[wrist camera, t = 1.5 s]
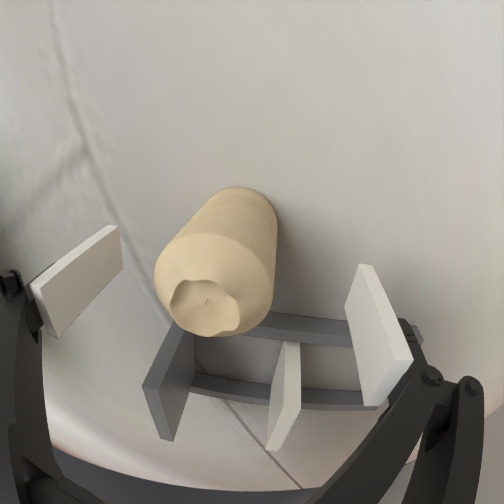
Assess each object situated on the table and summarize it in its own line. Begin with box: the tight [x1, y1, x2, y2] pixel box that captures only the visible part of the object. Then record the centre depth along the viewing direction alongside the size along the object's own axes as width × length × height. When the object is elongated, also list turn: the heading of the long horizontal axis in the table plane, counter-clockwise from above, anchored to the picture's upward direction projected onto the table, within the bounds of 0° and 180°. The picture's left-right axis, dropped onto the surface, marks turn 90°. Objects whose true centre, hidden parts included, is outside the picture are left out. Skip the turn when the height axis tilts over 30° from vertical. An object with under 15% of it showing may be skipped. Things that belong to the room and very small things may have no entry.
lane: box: [142, 312, 423, 442], centre depth 21 cm, size 22×11×9 cm, turn 84°
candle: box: [154, 187, 278, 337], centre depth 15 cm, size 6×6×10 cm
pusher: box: [265, 341, 301, 451], centre depth 22 cm, size 1×8×8 cm, turn 174°
